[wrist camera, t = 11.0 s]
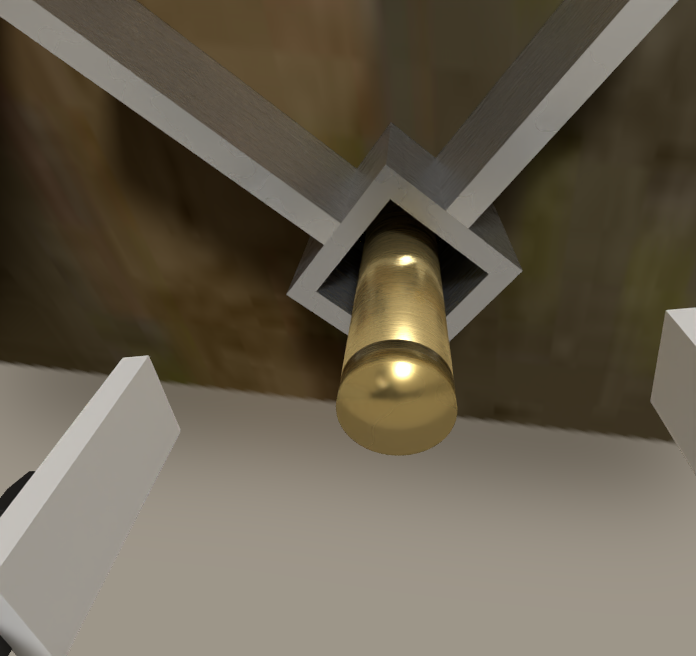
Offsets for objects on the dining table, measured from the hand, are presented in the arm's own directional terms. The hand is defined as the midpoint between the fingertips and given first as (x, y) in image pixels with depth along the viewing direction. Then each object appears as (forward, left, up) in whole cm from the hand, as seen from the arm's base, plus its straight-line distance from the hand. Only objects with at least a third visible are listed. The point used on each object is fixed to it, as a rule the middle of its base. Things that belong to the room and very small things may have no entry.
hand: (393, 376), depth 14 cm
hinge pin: (0, 0, -13) cm, 13 cm away
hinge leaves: (-6, +6, -13) cm, 15 cm away
